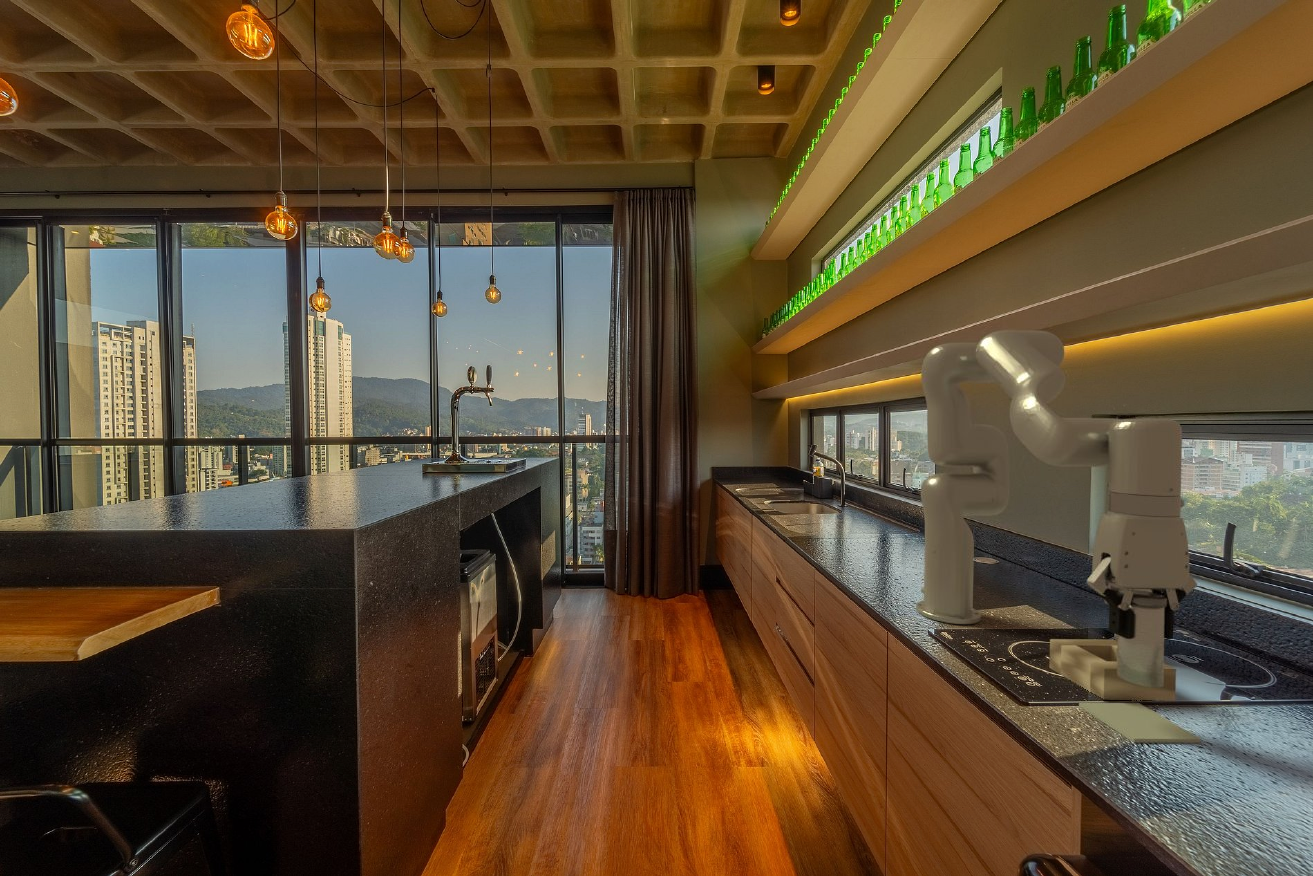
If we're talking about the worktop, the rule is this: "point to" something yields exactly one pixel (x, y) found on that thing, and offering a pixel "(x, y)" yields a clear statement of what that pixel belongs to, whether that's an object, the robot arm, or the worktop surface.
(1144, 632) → the grey cylindrical piece
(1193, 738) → the mat
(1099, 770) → the worktop surface
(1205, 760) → the worktop surface
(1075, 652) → the tan square frame
